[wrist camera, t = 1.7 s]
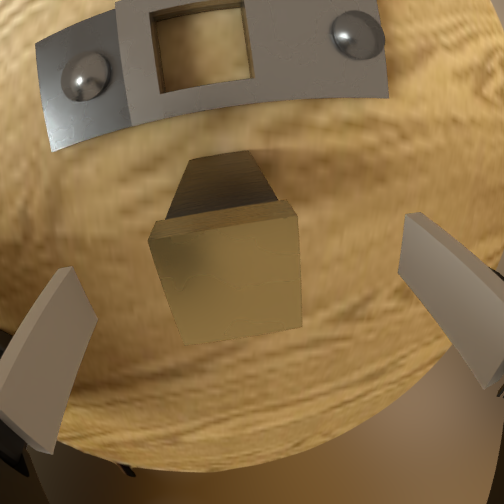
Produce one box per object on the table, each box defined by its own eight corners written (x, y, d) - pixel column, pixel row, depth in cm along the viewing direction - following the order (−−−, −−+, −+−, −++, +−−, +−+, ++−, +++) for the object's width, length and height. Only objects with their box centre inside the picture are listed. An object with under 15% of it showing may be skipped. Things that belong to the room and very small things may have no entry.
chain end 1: (59, 149, 18) (48, 154, 17) (43, 45, 14) (31, 42, 12) (269, 100, 19) (274, 101, 17) (253, -13, 14) (256, -21, 13)
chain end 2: (141, 123, 18) (129, 127, 16) (125, 11, 14) (112, -1, 11) (372, 97, 19) (393, 98, 16) (358, -8, 15) (376, -18, 12)
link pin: (198, 217, 22) (184, 345, 11) (186, 157, 20) (147, 240, 9) (258, 206, 22) (302, 327, 11) (250, 147, 20) (297, 215, 9)
